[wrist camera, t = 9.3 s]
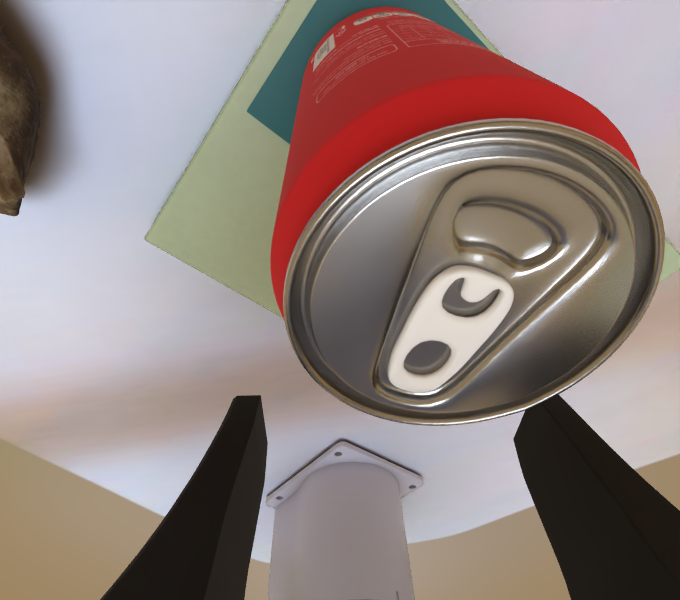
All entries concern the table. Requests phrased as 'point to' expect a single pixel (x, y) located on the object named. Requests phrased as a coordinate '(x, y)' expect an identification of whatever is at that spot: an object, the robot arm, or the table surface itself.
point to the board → (269, 151)
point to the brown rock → (16, 126)
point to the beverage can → (454, 227)
